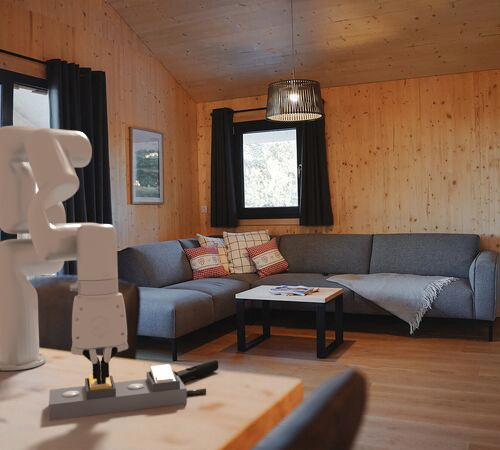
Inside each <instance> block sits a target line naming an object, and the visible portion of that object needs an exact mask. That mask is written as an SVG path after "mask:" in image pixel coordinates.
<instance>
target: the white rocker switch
mask: <svg viewBox="0 0 500 450" xmlns="http://www.w3.org/2000/svg"><path fill="white" fill-rule="evenodd" d="M171 369H172V367H171V364H170V363H169V364H160V365H151V366H150V370H149V372H150V371H151V374H152V377H153V381H154V383H161V382H170V381H176V380H175V377H174V375H173V372H172V370H173V369H172V370H171Z"/></svg>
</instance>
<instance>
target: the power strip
mask: <svg viewBox="0 0 500 450" xmlns="http://www.w3.org/2000/svg"><path fill="white" fill-rule="evenodd" d="M171 370H172V372H173V371H174V370H173V369H172V368H171ZM173 375H174V377H175V380H176V381H170V382H161V383H154V381H153V377H152V374H151V371H150V370H149V371H146V378H144V379H136V380H128V381H127V380H126V381H118V382H117V381H116V382H114V378H113V375H109V376H110V380H111V385H112V388H108V389H99V390H90V386H89V377H87V378H84V385H81V386H79V385H78V386H73V387H63V388H52V389H50V390H49V394H48V395H49V399H48V420H49V421H57V420H66V419H74V418H80V417H88V416H89V417H90V416H97V415H104V414H112V413H121V412H128V411H136V410H143V409H152V408H160V407H170V406H176V405H184V404H185V405H186V404H187V403H188V399H187V398H188V396H194V395H195V396H196V395H202V394H203V395H204V394H207V388H198V389H188V390H187V387H186V385H185V384H184V382H182V381H181V379H180V378H179V377H178V376H176V375H175V373H174V372H173Z"/></svg>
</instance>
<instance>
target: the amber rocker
mask: <svg viewBox="0 0 500 450" xmlns="http://www.w3.org/2000/svg"><path fill="white" fill-rule="evenodd" d="M110 376H111V375H109V377H108V378H106V383H104V384H103V383H102V381H101V383H100V384H97V379H93V373H91V374H90V373H89V374H88V378H89V386H90V390H99V389H108V388H112V385H111V380H110Z"/></svg>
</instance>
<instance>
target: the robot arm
mask: <svg viewBox="0 0 500 450" xmlns="http://www.w3.org/2000/svg"><path fill="white" fill-rule="evenodd" d="M92 151H93V149H92V144H91V142H90V139H89V138H88V136H87V135H86V134H85V133H84V132H82V131H79V130H69V129H61V128H60V129H59V128H52V127H51V128H49V127H36V126H27V125H26V126H25V125H6V126H5V125H4V126H1V127H0V229H1V231H3V233H6V234H11V235H24V234H25V235H26V234H28V235H30V238H25V237H24V238H10V239H6V240H2V241H0V371H3V372H4V371H8V372H10V371H11V372H12V371H20V370H21V371H22V370H27V369H31V368H36V367H39V366H42V365H43V364H45V363H46V361H47V357H46V355H44V354H43V353H40V337H39V336H40V333H39V331H40V330H39V329H40V328H39V297H38V292H37V290H36V288H35V287H34V286H33V284H32V283H31V282H30V281H29V280H28V277H32V276H33V277H34V276H43V275H51V274H56V273H58V272H60V271H61V270H62V269H63V267H64V265H65V262H69V261H76V268H77V269H76V270H77V280H76V282H74V283H69V291H70V292H71V291H74V292H76V293H77V295H75V296H74V299H73V302H72V303H73V304H72V313H71V315H72V316H71V339H72V345H71V349H70V352H71V354H72V355H75V356H76V355H77V356H84V357H85V358H86V359H87V360H88V361H89V362H91V364H92V374H93V379H97V384H100V383H101V381H102V383H103V384H104V383H106V378H108V377H109V376H110V362H111V359H113V357H114V356H116V354H117V353H118V352H119V353H120V352H123V351H126V350H128V349H129V344H128V325H127V323H128V322H127V313H126V312H127V311H126V305H125V300H124V299H125V298H124V296H123V293H122V292H119V276H118V275H119V274H118V268H119V267H118V243H117V242H118V241H117V240H118V239H117V237H118V236H117V235H118V234H117V230H116V227H115V226H114V225H113V224H109V223H97V222H68V223H67V219H66V218H67V217H66V210H65V207H64V204H63V202H64V201H67V200H68V199H70V198H71V197H73V196H74V195H75V194H76V192H78V190H79V188H80V179H79V177H78V176H77V175H78V174H77V173H76V169H75V168H84V167H86V166H88V165H89V163H90V162H91V160H92V156H93V155H92V154H93V152H92ZM27 163H28V164H29V165H28V164H27ZM36 186H37V189H38V190H37V191H36ZM97 349H103V354H102V355H103V356H101V360H100V358H99V357H98V353H97V351H96V350H97Z"/></svg>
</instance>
